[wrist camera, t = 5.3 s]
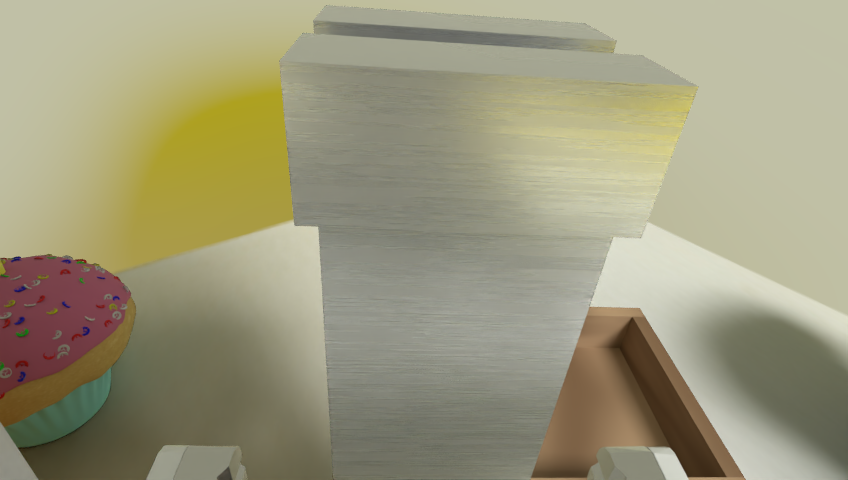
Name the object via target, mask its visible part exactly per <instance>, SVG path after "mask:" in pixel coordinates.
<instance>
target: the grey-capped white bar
mask: <svg viewBox="0 0 848 480" xmlns="http://www.w3.org/2000/svg"><path fill="white" fill-rule="evenodd" d="M313 22H314V34H311V33H302V35H301V36H300V37H299V38H298V40H296V42H295V43H294V44H293V45H292V47H291V48H290V49H289V50H288V51H287V52H286V54H285V55H284V56H283V57H282V58H281V60H280V73H281V83H282V95H283V106H284V116H285V127H286V138H287V149H288V161H289V172H290V183H291V194H292V205H293V215H294V226H318V227H319V244H320V261H321V279H322V296H323V313H324V330H325V348H326V365H327V382H328V399H329V416H330V434H331V451H332V468H333V480H530V479H531V476H532V473H533V470H534V467H535V464H536V461H537V458H538V455H539V452H540V450H541V447H542V444H543V441H544V438H545V435H546V432H547V429H548V426H549V423H550V420H551V417H552V415H553V412H554V409H555V406H556V403H557V400H558V397H559V394H560V391H561V388H562V385H563V382H564V379H565V377H566V374H567V371H568V368H569V365H570V362H571V359H572V356H573V353H574V350H575V347H576V344H577V342H578V339H579V336H580V333H581V330H582V327H583V324H584V321H585V318H586V315H587V312H588V309H589V306H590V304H591V301H592V298H593V295H594V292H595V289H596V286H597V283H598V280H599V277H600V274H601V271H602V269H603V266H604V263H605V260H606V257H607V254H608V251H609V248H610V245H611V242H612V239H613V237H624V238H641V237H642V234H643V231H644V229H645V226H646V224H647V221H648V218H649V216H650V213H651V210H652V208H653V205H654V202H655V200H656V197H657V195H658V192H659V189H660V187H661V184H662V181H663V179H664V176H665V174H666V171H667V168H668V165H669V163H670V160H671V158H672V155H673V152H674V150H675V147H676V144H677V142H678V139H679V137H680V134H681V132H682V129H683V126H684V124H685V121H686V118H687V116H688V113H689V110H690V108H691V105H692V103H693V100H694V97H695V95H696V92H697V90H698V86H696V85H695V84H693V83H691V82H689V81H687V80H686V79H684V78H682V77H680V76H679V75H677V74H675V73H673V72H671V71H670V70H668V69H666V68H664V67H662V66H661V65H659V64H657V63H655V62H653V61H652V60H650V59H648V58H646V57H644V56H642V55H629V54H614V53H613V52H614V49H615V45H616V40H614V39H612V38H610V37H609V36H607V35H605V34H603V33H602V32H600V31H598V30H596V29H594V28H592V27H591V26H589V25H587V24H585V23H570V22H557V21H542V20H529V19H513V18H500V17H486V16H471V15H458V14H444V13H429V12H415V11H401V10H387V9H373V8H359V7H345V6H344V7H343V6H330V5H326V6H325V7H324V8H323V9H322V11H321V12H320V13H319V14H318V15H317V17H316V18H315V19H314V21H313Z"/></svg>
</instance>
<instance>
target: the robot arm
mask: <svg viewBox="0 0 848 480" xmlns="http://www.w3.org/2000/svg"><path fill="white" fill-rule="evenodd" d="M242 455H243V454H242V451H241V448H240V446H192V445H164V446H163V448H162V449H161V450H160V451H159V453H158V454H157V456H156V458H155V460H154V462H153V465H152V467H151V469H150V471H149V473H148V476H147V478H146V480H247V472H246V467H245V466H243V465H242V464H240V462H241V459H242ZM596 457H597V460H598V463H597V464H595V465H593V466H592V467H591V468H590V470H589V473H588V476H587V480H689V479H688V477H687V475H686V473H685V472H684V470H683V468H682V466H681V464H680V462H679V460H678V458H677V456H676V454H675V452H673V451H672V450H671V449H670V448H669V447H645V446H625V447H602V448H600V449H599V450H598V452H597V455H596Z"/></svg>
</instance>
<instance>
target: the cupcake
mask: <svg viewBox="0 0 848 480" xmlns="http://www.w3.org/2000/svg"><path fill="white" fill-rule="evenodd" d="M68 257H69V258H68ZM15 258H16V259H15ZM82 261H84V262H82ZM135 315H136V306H135V303H134V301H133V299H132V298H131V292H130V290H129V289H128V287H127V286H125V285H124V284H123V283H122V282H121V281H120V279H119V278H118V277H116V276H114V275H112V274H111V273H110V272H108V271H107V270H105V269H103V268H101V267H100V266H99V264H96V263H94V264H87V263H86V260H83V259H80V260H79V259H78V260H73V258H72V257H70V256H64V257H56V256H52V255H51V254H48V255H42V256H32V257H26V258H21V257H14V258H11V259H10V258H8V259H7V258H0V422H1V424H2V425H3V427H4V428H5V430H6V431H7V433H8V434H9V436H10V437H11V439H12V440H13V442H14V444H15V445H16V447H18V448H21V447H31V446H37V445H41V444H45V443H48V442H51V441H54V440H56V439H59V438H61V437H63V436H65V435H67V434H69V433H71V432H72V431H74V430H76V429H77V428H79V427H80V426H82V425H83V424H84V423H86V422H87V421H88V420H89V419H90V418H92V417H93V416H94V415H95V414H96V413H97V412H98V410H99V409H100V408H101V407H102V405H103V404H104V402H105V401H106V399H107V397H108V394H109V391H110V387H111V366H113V364H114V363H115V362H116V361H117V360H118V359H119V357H120V356H121V354H122V352H123V351H124V349H125V347H126V346H127V344H128V341H129V338H130V335H131V331H132V328H133V323H134V319H135Z"/></svg>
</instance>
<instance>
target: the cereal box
mask: <svg viewBox="0 0 848 480" xmlns="http://www.w3.org/2000/svg"><path fill="white" fill-rule="evenodd" d="M0 480H38V478H37V477H36V475H35V474H34V472H33V471H32V469H31V468H30V466H29V465H28V463H27V462H26V460H25V459H24V457H23V456H22V454H21V453H20V451H19V450H18V448H17V447H16V445H15V444H14V442H13V440H12V439H11V437H10V436H9V434H8V433H7V431H6V430H5V428H4V427H3V425H2V424H1V422H0Z"/></svg>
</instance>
